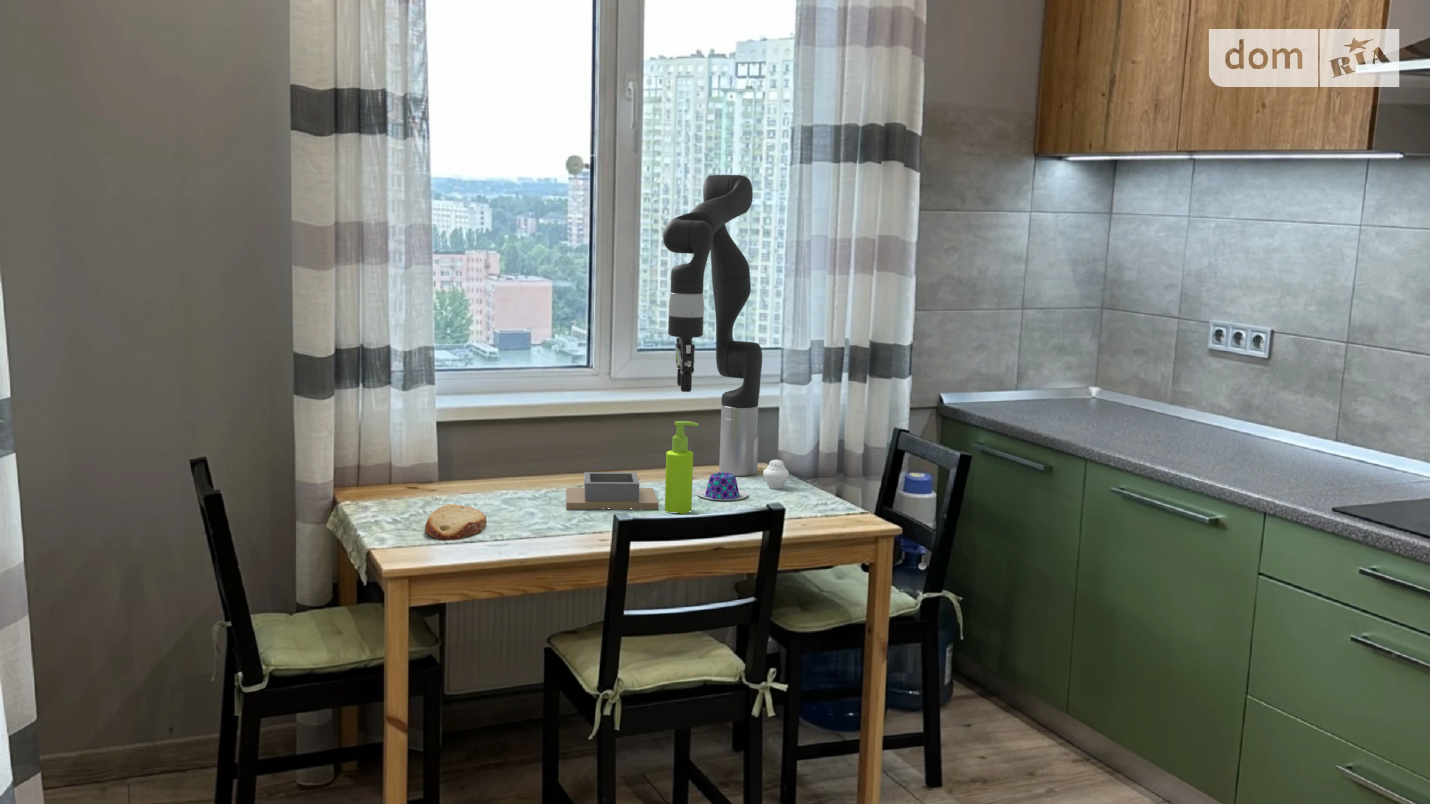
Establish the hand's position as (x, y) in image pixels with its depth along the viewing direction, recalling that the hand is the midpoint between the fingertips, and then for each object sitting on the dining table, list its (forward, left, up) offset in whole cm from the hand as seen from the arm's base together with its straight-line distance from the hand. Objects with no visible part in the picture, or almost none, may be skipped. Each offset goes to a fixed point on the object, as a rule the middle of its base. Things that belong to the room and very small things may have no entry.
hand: (684, 388), depth 267 cm
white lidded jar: (-25, -22, -28) cm, 43 cm away
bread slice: (+48, +12, -28) cm, 57 cm away
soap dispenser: (0, 0, -28) cm, 28 cm away
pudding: (-11, -14, -28) cm, 33 cm away
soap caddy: (+15, -8, -27) cm, 32 cm away
